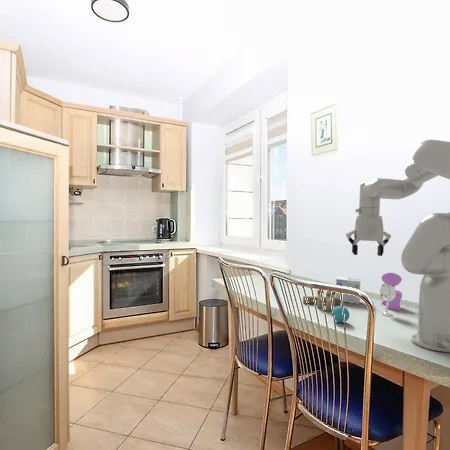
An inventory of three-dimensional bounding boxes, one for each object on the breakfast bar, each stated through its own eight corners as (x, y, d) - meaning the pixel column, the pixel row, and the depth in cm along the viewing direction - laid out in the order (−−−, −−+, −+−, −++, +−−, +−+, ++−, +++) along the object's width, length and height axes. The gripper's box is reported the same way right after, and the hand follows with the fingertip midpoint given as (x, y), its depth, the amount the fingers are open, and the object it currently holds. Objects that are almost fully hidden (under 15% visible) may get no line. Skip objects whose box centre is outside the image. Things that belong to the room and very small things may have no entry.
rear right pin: (335, 309, 141) (336, 289, 141) (329, 309, 141) (330, 289, 141) (333, 307, 144) (334, 288, 144) (327, 307, 144) (328, 287, 144)
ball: (351, 325, 120) (352, 308, 120) (334, 324, 120) (335, 308, 120) (345, 320, 126) (346, 304, 126) (329, 319, 126) (330, 303, 126)
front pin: (332, 311, 137) (333, 291, 137) (326, 311, 137) (327, 291, 137) (330, 310, 140) (331, 290, 139) (324, 309, 140) (325, 289, 139)
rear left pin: (323, 308, 141) (324, 288, 141) (317, 308, 141) (318, 288, 141) (321, 307, 144) (322, 287, 144) (316, 306, 144) (316, 287, 144)
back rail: (340, 305, 148) (340, 298, 148) (303, 303, 148) (304, 297, 148) (338, 304, 150) (338, 297, 150) (302, 302, 150) (303, 296, 150)
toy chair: (383, 308, 145) (385, 274, 145) (378, 303, 154) (380, 271, 154) (404, 310, 144) (405, 276, 143) (398, 305, 152) (400, 272, 152)
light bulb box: (359, 301, 157) (360, 278, 157) (359, 304, 151) (360, 281, 151) (335, 298, 161) (336, 276, 161) (334, 301, 155) (336, 278, 155)
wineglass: (391, 313, 139) (392, 284, 138) (396, 317, 133) (398, 287, 132) (376, 312, 139) (378, 283, 139) (381, 316, 133) (383, 286, 133)
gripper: (350, 211, 130) (348, 255, 130) (395, 212, 129) (393, 257, 129) (344, 211, 137) (342, 253, 137) (387, 213, 136) (385, 255, 136)
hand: (367, 255), depth 133 cm, fingers open, 9 cm apart
